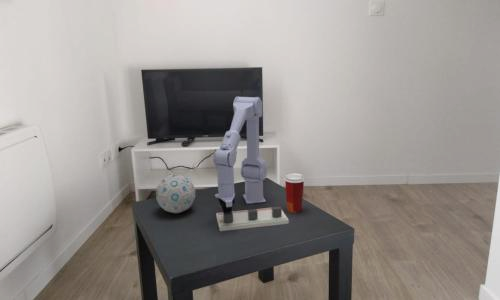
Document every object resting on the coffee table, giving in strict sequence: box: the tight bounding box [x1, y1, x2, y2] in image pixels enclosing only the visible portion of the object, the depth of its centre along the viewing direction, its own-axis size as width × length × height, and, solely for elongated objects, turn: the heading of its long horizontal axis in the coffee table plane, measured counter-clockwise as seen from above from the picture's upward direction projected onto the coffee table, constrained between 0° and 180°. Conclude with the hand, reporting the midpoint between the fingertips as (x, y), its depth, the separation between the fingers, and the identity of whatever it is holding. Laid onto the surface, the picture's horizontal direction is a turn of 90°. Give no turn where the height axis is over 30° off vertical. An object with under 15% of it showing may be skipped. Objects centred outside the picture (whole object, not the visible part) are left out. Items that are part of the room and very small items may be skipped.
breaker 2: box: [247, 208, 258, 220], centre depth 136 cm, size 2×3×3 cm, turn 101°
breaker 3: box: [271, 206, 283, 217], centre depth 138 cm, size 2×3×3 cm, turn 101°
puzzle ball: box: [155, 173, 196, 214], centre depth 147 cm, size 15×15×15 cm
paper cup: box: [283, 172, 306, 214], centre depth 146 cm, size 8×8×14 cm
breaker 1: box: [222, 211, 233, 223], centre depth 134 cm, size 2×3×3 cm, turn 101°
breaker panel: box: [215, 207, 290, 232], centre depth 139 cm, size 12×25×2 cm, turn 101°
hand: (227, 217), depth 137 cm, fingers closed
